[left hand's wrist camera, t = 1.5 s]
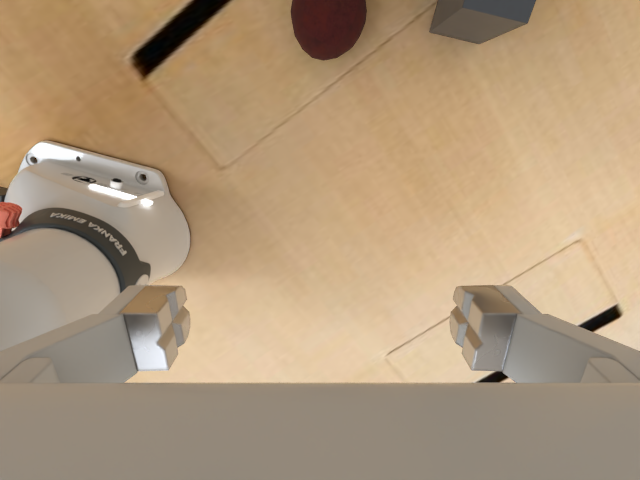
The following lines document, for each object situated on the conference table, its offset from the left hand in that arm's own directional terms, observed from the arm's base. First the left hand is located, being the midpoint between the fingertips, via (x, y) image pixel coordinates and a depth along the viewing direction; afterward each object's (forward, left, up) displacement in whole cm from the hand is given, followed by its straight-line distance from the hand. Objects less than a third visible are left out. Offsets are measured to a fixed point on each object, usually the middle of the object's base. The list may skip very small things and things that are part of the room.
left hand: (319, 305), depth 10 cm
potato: (-6, +13, -34) cm, 37 cm away
